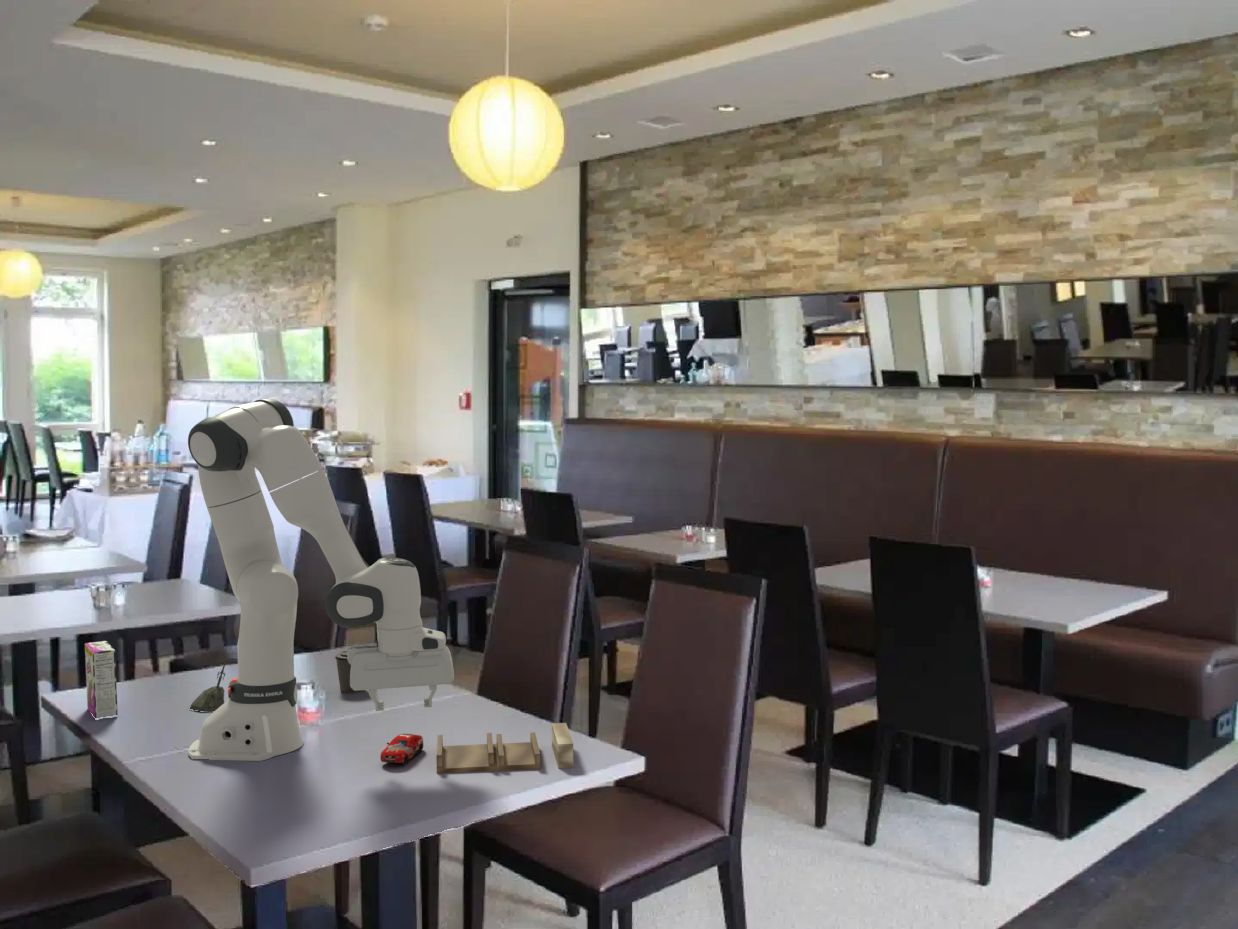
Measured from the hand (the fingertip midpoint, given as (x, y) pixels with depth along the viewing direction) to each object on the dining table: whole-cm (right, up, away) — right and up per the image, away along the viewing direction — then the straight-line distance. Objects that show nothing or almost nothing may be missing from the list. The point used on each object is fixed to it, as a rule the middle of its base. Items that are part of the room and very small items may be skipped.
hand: (404, 708), depth 220 cm
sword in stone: (-53, -9, +39) cm, 66 cm away
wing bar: (+31, -11, +5) cm, 33 cm away
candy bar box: (-75, -10, +34) cm, 83 cm away
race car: (-1, -13, 0) cm, 13 cm away
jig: (+16, -11, +3) cm, 20 cm away
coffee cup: (-24, -8, +55) cm, 60 cm away
